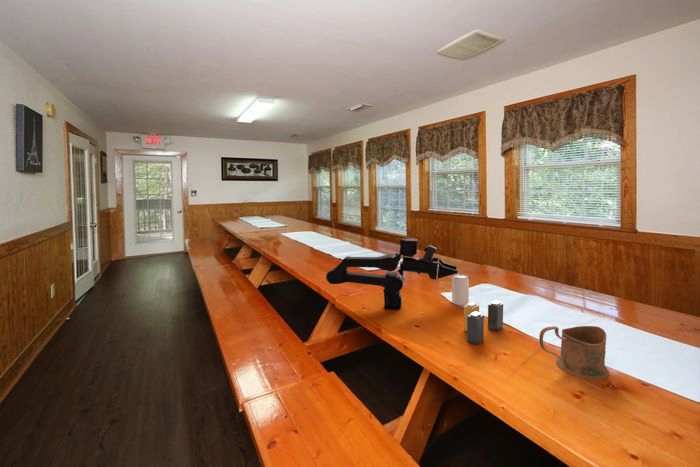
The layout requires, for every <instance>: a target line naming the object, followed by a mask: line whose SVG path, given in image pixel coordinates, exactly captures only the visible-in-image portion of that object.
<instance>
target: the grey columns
mask: <svg viewBox="0 0 700 467" xmlns="http://www.w3.org/2000/svg"><path fill="white" fill-rule="evenodd" d="M484 319H485V315H484V314H482V313H481V312H480V311H479V312H473V313H471V314H470V315H468V316H467V331H466V334H467V336H466V342H467V343H469V344H473V345H474V346H479V344H481V343H482V342H484V336H485V335H484V334H485V333H484V331H485V330H484V329H485V328H484V327H485V325H484V324H485V323H484V322H485V320H484ZM503 328H504V303H503V302H501V301H499V300H493V301H491V302H490V303H488V305H487V329H488V330H491V331H494V332H499V331H500V330H501V329H503Z"/></svg>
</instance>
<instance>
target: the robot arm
mask: <svg viewBox="0 0 700 467" xmlns="http://www.w3.org/2000/svg"><path fill="white" fill-rule="evenodd" d="M399 241H400V242H399V244H400V246H399V251H397V253H390V254H384V255H380V256H349V255H348V256H345V257H343V259H342V260H341V261H340V263H339V264H338V265H337V266H335V267H332V268H331V269H330V270H329V271H328V272H327V273H326V275H325V278H326V281H327V282H328V283H329V284H330V285H340V284H344V283H350V284H351V283H353V284H360V285H371V286H377V287H378V286H380V287H382V288H383V291H382V292H383V301H384V302H383V305H384V306H383V310H401V307H402V305H403V303H402V301H403V299H402V296H403V295H402V294H401V290H402V289H403V287H404V285H405V280H406V279H405V277H404V274H405V272H406V273H407V272H410V273H417V274H418V275H421V274H424V275H428V278H429V279H430V280H439V279H442V278H446V277H448V276H453V275H455V274H459V272H458V271H459V270H457V268H458V267H457V266H456V265H453V264H449V263H446V262H444V261H443V260H442V259H441V258H440V257H439V256H434V254H435V253H436V251H437V249H438V248H437V247H435V246H433V245H431V244H429V245H428V246H425V248H424V250H423V251H424V252H425V253H424V255H423V256H420V257H419V258H418V257H415V255H417V254H418V243H419V240H418V239H417V238H412V237H411V238H409V237H408V238H400V240H399ZM400 260H401V261H400ZM398 267H399V269H398V270H397V268H398ZM348 268H371V269H372V268H374V269H375V268H376V269H379V270H382V271H386V273H385V274H375V273H374V274H373V273H363V272H354V271H350V270H347V269H348ZM395 270H397V271H395Z"/></svg>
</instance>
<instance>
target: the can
mask: <svg viewBox="0 0 700 467" xmlns="http://www.w3.org/2000/svg"><path fill="white" fill-rule="evenodd" d="M452 276H453V277H452V279H451V303H452V304H453V305H458V306H465V305H467V304H468V303H470V301H469V300H470V298H469V297H470V296H469V295H470V292H469V291H470V287H469V286H470V283H469V282H470V280H469V278H468V277H469V276H468V274H467V275H466V274H464V273H457V274H453V275H452Z"/></svg>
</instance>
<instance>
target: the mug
mask: <svg viewBox="0 0 700 467" xmlns="http://www.w3.org/2000/svg"><path fill="white" fill-rule="evenodd" d="M552 330H554V334H555V336H556V337H557V338H558V339H559V340H561V342H560V344H561V345H560V355H558V354H556V353H555V352H554V351H552V350H549V349H546V347H545V345H544V335H545V333H546V332H548V331H552ZM559 333H560V332H559V327H558V326H557V325H556V326H555V325H554V326H548V327H544V328H542V329H541V330H540V332H539V338H538V339H539V345H540V348H541V349H542V350H543V351H545V353H548V354H552V355H553V356H555V357H556V359H555V364H556V365H557V367H558V368H559V369H560V370H562V371H563V372H564V373H567V374H568V375H571V376H574V377H577V378H582V379H586V380H595V381H597V380H602V379H606V378H608V376H609V369H608V368H607V366H606V365H605V364H606V362H605V360H606V352H607V351H606V348H607V346H606V344H607V336H608V335H607V333H606V331H605V330H604V329H603V328H602V327H600V326H596V325H580V326H574V327H573V326H572V327H568V328H562V329H561V336H560V334H559Z"/></svg>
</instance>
